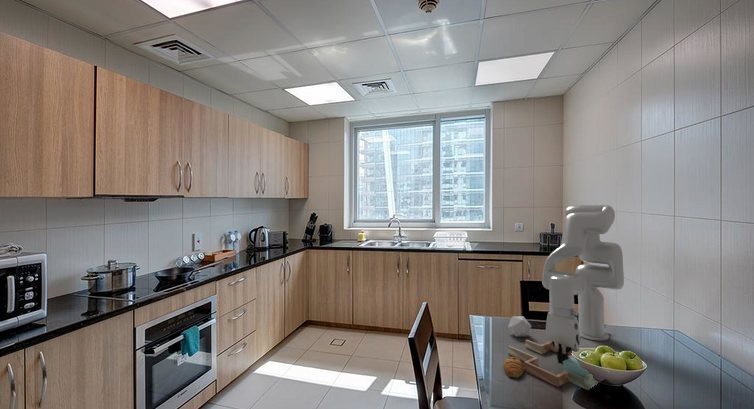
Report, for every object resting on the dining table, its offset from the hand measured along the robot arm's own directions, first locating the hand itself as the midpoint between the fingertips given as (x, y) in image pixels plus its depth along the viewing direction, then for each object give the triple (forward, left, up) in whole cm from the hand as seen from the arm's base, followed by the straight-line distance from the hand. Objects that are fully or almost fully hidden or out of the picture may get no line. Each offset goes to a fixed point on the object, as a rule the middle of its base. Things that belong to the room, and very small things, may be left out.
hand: (562, 362), depth 111 cm
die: (-14, -27, -3) cm, 31 cm away
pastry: (+15, -9, -3) cm, 18 cm away
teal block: (0, +6, -3) cm, 7 cm away
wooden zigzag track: (0, -4, -3) cm, 5 cm away
